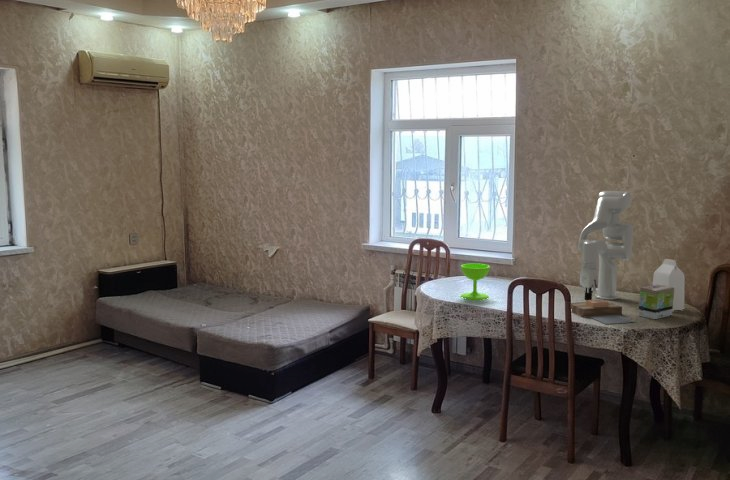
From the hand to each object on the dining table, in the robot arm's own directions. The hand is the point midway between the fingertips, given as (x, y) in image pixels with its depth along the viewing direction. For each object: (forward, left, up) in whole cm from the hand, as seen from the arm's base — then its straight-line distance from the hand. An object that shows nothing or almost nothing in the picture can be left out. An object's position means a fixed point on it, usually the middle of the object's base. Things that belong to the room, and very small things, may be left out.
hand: (588, 300), depth 348 cm
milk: (+7, +42, -5) cm, 43 cm away
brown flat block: (+6, 0, -5) cm, 8 cm away
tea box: (+19, +26, -5) cm, 33 cm away
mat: (+21, 0, -5) cm, 22 cm away
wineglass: (-41, -46, -5) cm, 62 cm away
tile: (+8, 0, 0) cm, 8 cm away
